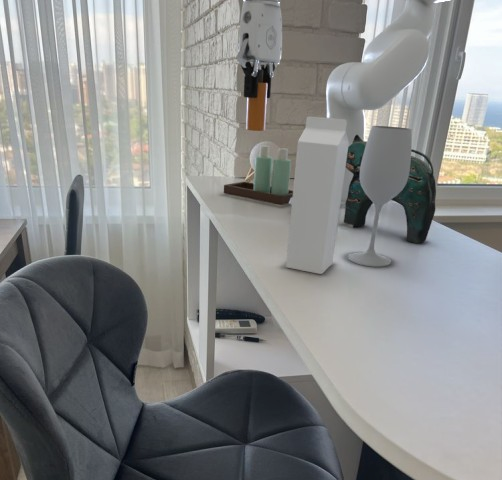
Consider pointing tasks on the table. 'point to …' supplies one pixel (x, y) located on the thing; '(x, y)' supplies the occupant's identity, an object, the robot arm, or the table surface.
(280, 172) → the bottle
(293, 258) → the milk
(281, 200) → the tray
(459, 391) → the table surface
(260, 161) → the bottle
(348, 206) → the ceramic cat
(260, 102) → the amber bottle
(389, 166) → the wineglass
